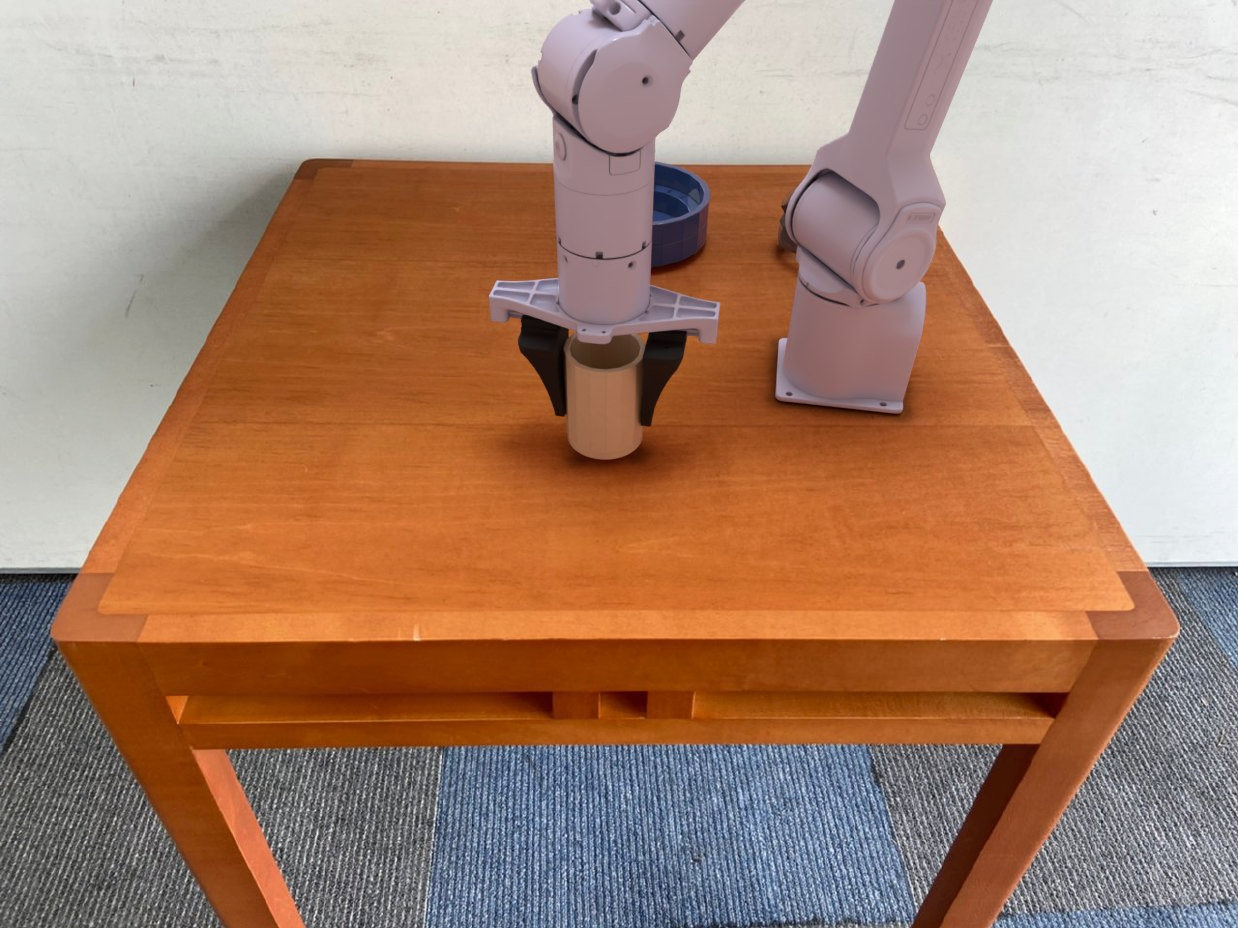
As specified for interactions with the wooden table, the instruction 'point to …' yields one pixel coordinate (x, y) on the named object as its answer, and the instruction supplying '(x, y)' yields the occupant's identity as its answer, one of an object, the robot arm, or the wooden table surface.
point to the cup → (604, 395)
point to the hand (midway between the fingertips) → (604, 412)
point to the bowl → (678, 214)
